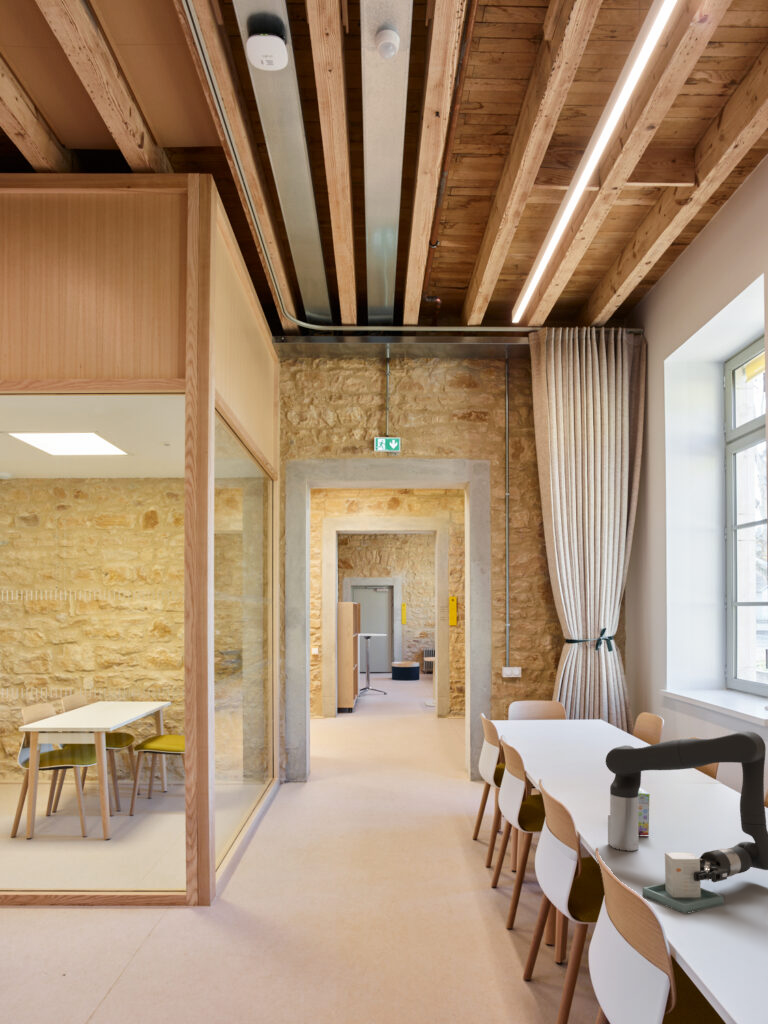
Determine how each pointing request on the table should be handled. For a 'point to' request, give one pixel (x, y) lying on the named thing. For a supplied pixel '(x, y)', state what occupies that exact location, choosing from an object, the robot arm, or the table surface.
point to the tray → (683, 899)
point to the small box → (682, 875)
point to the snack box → (643, 812)
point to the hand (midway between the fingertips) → (682, 872)
